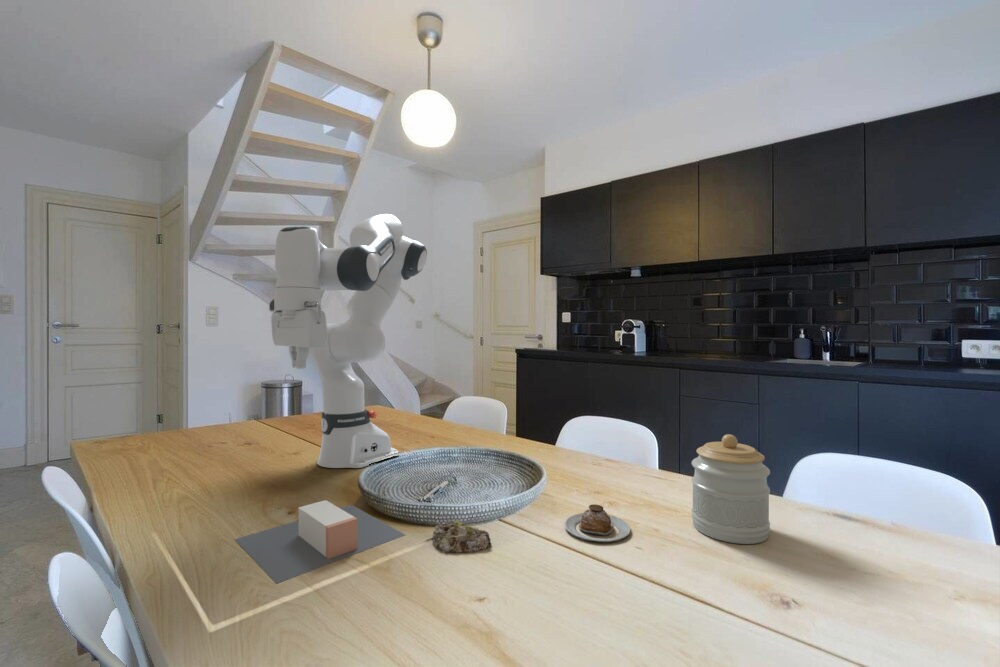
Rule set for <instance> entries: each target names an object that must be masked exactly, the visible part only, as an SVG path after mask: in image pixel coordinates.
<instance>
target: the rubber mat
mask: <svg viewBox="0 0 1000 667" xmlns="http://www.w3.org/2000/svg"><path fill="white" fill-rule="evenodd" d="M339 508H340V509H342V510H343V511H345V512H347V513H349V514H350V515H352V516H354V517H355V518H357V540H358V548H357V549H354V550H352V551H349V552H346V553H344V554H341V555H338V556H335V557H333V558H330V559H328V558H327V557H325V556H324V555H323V554H322V553H320V552H319V551H318V550H317V549H315V548H314V547H313V546H311V545H310V544H309V543H308V542H306V541H305V540H304V539H303V538H301V537H300V536H299V523H298V520H296V521H292V522H289V523H285V524H282V525H278V526H275V527H272V528H268V529H263V530H262V531H258V532H255V533H254V532H253V533H251V534H248V535H244V536H241V537H238V538H234V541H235V542H236V543H237V544H238V545H239V546H240V547H241V548H242V549H243V550H244V552H245V553H246V554H247V555H249V557H250V558H251V559H252V560H253V561H254V562H255V563H256V564H257V565H258V566H259V567H260V568H261V569H262V570H263V571H264V572H265V574H266V575H267V576H269V578H270V579H271V580H272V581H273V582H274V583H275V584H280V583H282V582H285V581H288V580H290V579H294V578H296V577H298V576H302V575H303V574H307V573H309V572H311V571H314V570H317V569H319V568H321V567H325V566H328V565H330V564H333V563H335V562H338V561H341V560H344V559H346V558H349V557H352V556H354V555H357V554H359V553H362V552H364V551H367V550H370V549H373V548H375V547H378V546H380V545H383V544H386V543H389V542H391V541H394V540H396V539H398V538H402V537H404V536H406V533H404V532H402V531H399V530H398V529H396V528H394V527H392V526H390V525H389V524H387V523H385V522H384V521H382V520H379V519H378V518H376V517H374V516H373V515H370V514H368V513H367V512H365V511H363V510H362V509H360V508H359V507H356V506H354V505H353V504H350V505H346V506H343V507H339Z"/></svg>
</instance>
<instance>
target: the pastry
mask: <svg viewBox="0 0 1000 667" xmlns="http://www.w3.org/2000/svg"><path fill="white" fill-rule="evenodd" d="M577 526H578V529H579V531H582V532H584V533H587V534H591V535H597V536H607V535H609V534H611V533H612V532H613V530H614V527H616V529H617V530H618V534H617V535H614V536H612V537H608V538H597V537H596V538H595V537H590V536H587V535H584V534H581V533H580V532H578V530H577ZM564 527H565V529H566V531H567V532H569V533H570V534H571V536H573V537H575V538H578V539H581V540H583V541H588V542H590V541H593V542H597V543H599V542H601V543H610V542H617V541H620V540H621V541H622V540H623V539H626V537H628V536H630V533H631V527H630V525H629V523H628V522H626V521H625V520H624V519H623V518H619V517H617V516H615V515H611V514H608V513H607V511H606V510H605V509H604V506H602V505H599V504H589V505H588V509H586V510H584V511H583V512H581V513H577V514H573V515H571V516H569V517H567V519H565V522H564Z"/></svg>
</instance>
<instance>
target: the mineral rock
mask: <svg viewBox="0 0 1000 667" xmlns="http://www.w3.org/2000/svg"><path fill="white" fill-rule="evenodd" d="M432 534H433V535H432V544H433V546H434V547H435V548H437V549H439V550H440V551H441V552H442V553H451V552H452V553H458V554H459V553H465V552H466V553H472V552H473V553H476V552H478V551H480V550H486V549H487V548H489V547H491V546H492V542H491V538H490V533H489V532H488V531H486V530H482V529H479V528H478V527H473V526H468V525H465V524H464V522H462V521H461V520H455V521H454V522H453V523H450V524H445V523H443V524H439V525H436V526H435V528H434V531H433V533H432Z"/></svg>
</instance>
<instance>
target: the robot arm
mask: <svg viewBox="0 0 1000 667" xmlns="http://www.w3.org/2000/svg"><path fill="white" fill-rule="evenodd" d="M318 233H319V232H318V231H317V228H314V227H311V226H290V227H283V228H282V229H280V230H279V231H278V233H277V235H276V240H275V250H274V251H275V252H274V267H275V268H274V269H275V271H276V282H275V287H274V288H275V289H274V290H275V291H274V292H275V293H274V296H273V298H272V299H271V300H270V301H269V303H268V311H269V312H270V313H271V317H270V318H271V319H270V320H271V323H270V324H271V337H272V341H273V344H274V346H279V347H288V352H289V355H290V359H291V367H292V368H293V369H299V370H300V369H302V370H303V369H306V367H307V359H308V357H309V358H310V359H311V360H312V362H313V363H314V365H315V366H316V369H317V372H318V375H319V378H320V381H321V387H322V403H323V404H322V405H323V406H322V407H323V408H322V412H321V422H320V425H321V433H322V435H321V436H322V438H321V444H320V451H319V457H318V459H317V465H318V466H320V467H323V468H327V469H346V468H348V469H349V468H351V469H361V468H364V467H367V466H370V465H369V464H371V463H372V462H374V461H376V460H378V459H380V458H383V457H385V456H388V455H391V454H394V453H398V452H399V450H397V449H396V448H394V447H392V442H391V439H390V436H389V434H388V433H387V432H386V431H384V430H383V429H381V428H380V427H378V426H377V425H376V424H374V423H373V422H372V421H371V419H376V418H377V417H378V412H376V411H375V410H367V409H365V384H364V381H363V380H362V379H361V377H359V376H358V375H357V374H356V372H355V371H354V370H353V369H354V368H353V367H352V363H354V364H355V363H360V364H362V363H367V362H371V361H376V360H378V359H379V358H380V357H381V356H382V355H383V353H384V351H385V348H386V338H385V335H384V333H383V330H382V329H381V324H382V322H383V320H384V318H385V316H386V314H387V313H388V312H389V309H390V308H391V306H392V305H393V303H394V301H395V299H396V297H397V295H398V293H399V290H400V288H401V284H402V280H403V281H405V280H406V281H407V280H409V279H410V278H411V277H414V276H417V275H418V274H419V273H421V272H422V271H423V269H424V267H425V265H426V262H427V259H428V258H427V256H428V251H427V249H426V248H427V247H426V246H425V245H424V244H423V243H421V242H420V241H418V240H413V239H411V238H408V237H406V236H404V227H403V223H402V222H401V221H400V220H399V218H398V217H396V216H395V215H393V214H389V213H384V214H383V213H382V214H376V215H373V216H370V217H368V218H365V219H363V220H362V221H359V222H358V223H357V224H355V226H354V227H352V230H351V231H350V234H349V245H350V246H344V247H343V246H342V247H327V246H325V245H324V244H323V242H321V241H320V239H319V234H318ZM323 291H355V292H354V293H353V294H352V296H351V297H350V299H349V300H348V302H347V304H346V308H347V312H348V315H349V318H348V320H346V321H345V322H341V323H340V322H338V323H337V322H336V323H333V322H331V323H327V318H326V314H325V312H324V311H323V310H322V295H321V294H322V293H321V292H323ZM371 465H372V464H371Z"/></svg>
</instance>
